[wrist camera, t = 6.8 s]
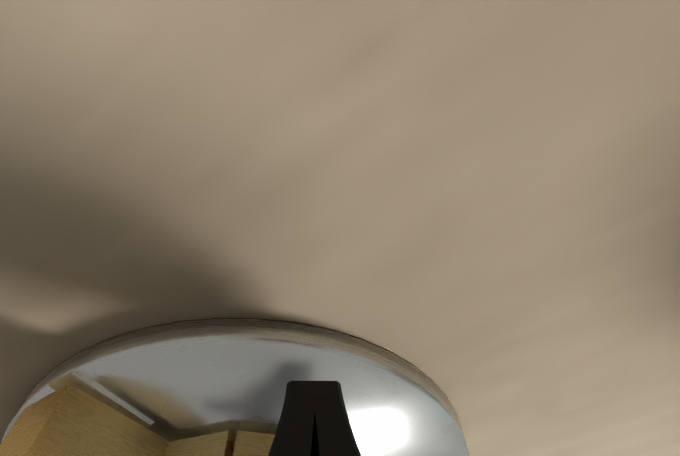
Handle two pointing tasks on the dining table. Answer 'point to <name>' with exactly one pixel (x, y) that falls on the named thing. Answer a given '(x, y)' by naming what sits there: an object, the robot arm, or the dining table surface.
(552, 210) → the dining table surface
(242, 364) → the flange
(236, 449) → the ring nut
